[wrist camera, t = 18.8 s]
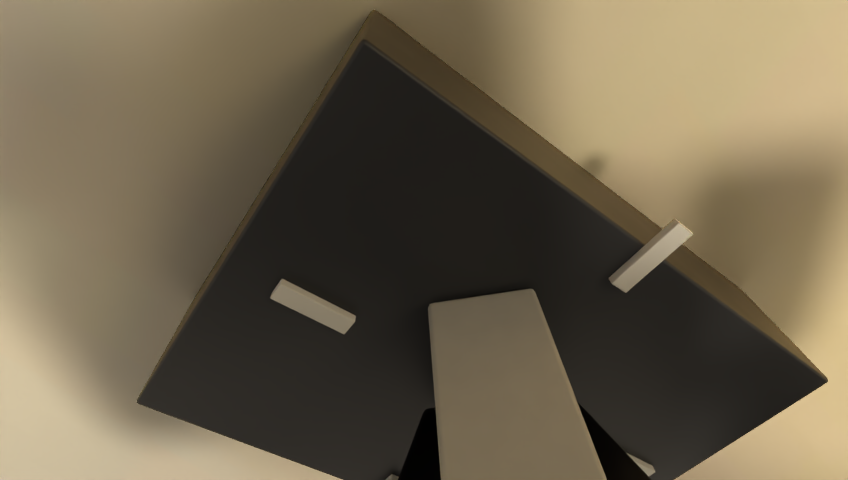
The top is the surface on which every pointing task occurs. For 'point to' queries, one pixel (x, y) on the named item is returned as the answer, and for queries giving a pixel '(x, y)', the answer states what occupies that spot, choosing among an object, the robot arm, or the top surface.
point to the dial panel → (456, 285)
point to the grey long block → (504, 394)
